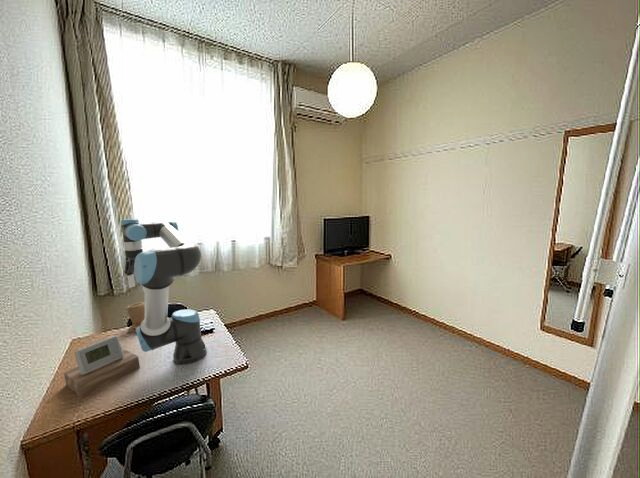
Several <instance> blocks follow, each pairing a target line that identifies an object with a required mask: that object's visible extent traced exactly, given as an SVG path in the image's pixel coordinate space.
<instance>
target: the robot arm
mask: <svg viewBox="0 0 640 478" xmlns="http://www.w3.org/2000/svg"><path fill="white" fill-rule="evenodd" d="M120 228H121V235H122V240H123V243H122V244H123V248H124V253H125V254H124V255H125V265H124V274H125V275H126V276H127V282H128V287H129V288H130V289H131V288H134V287H136V282H137V284H139V285H140V286H141V287H142V292H144V303H145V319H144V320H143V321H142V323H141V326H139V327H137V328H136V332H135V333H136V335H137V338H138V339H137V340H138V341H139V345H140V349H141V351H142V352H144V353H147V352H150V351H154V350H156V349H159V348H162V347H165V346H168V345H171V344H173V343H175V346H174V351H173V354H172V355H173V357H172V358H173V362H174V363H176V364H178V365H187V364H192V363H195V362H198V361H200V360H201V359H203V358H204V357H205V356H206V354H207V346H206V344H205V342H204V340H203V339H202V332H201V331H202V330H201V318H200V314H199V312H198V311H197V310H194V309H188V308H187V309H179V310H175V311H174V312H173V313H172V315H171V317H168V313H169V312H168V310H169V309H168V308H169V297H170V295H169V294H170V293H169V292H170V287H171V285H172V284H173V283H174V281H175V278H177V277H181V276H185V275H188V274H190V273H192V272H193V271H195V270H196V269H197V267H198V266H199V264H200V262H201V259H202V252H201V249H200V248H199V246H198V245H197V244H196V243H195V242H193V241H190V240H188V239H187V238H186V237H185V236H183V235H182V234H181V233H180V232H179V226H178V224H177V222H176V221H174V220H171V221H170V220H166V221H158V222H146V223H140V222H139V219H138V218H124V219H121V220H120ZM156 238H161V239H162V241H163V242H165V243H166V245H167V246H168V247H167V248H162V249H161V248H160V249H155V250H152V249H151V250H147V251H144V250H143V249H142V248H143V241H142V240H149V239H156ZM135 280H136V282H135Z"/></svg>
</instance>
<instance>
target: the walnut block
mask: <svg viewBox="0 0 640 478" xmlns="http://www.w3.org/2000/svg"><path fill="white" fill-rule="evenodd" d="M122 350H123V354H124V357H123V358H121V359H119V360H117V361H116V362H114V363H111V364H109V365H107V366H105V367H103V368H100V369H98V370H96V371H94V372H90V373H88V374H85V375H81V373H80V370H79V367H78V366H76V367H73V368H72V369H69V370H67V371H64V372H63V376H64V381H65V384H66V385H65V386H67V388H69V389H71V391H73V392H74V393H75V394H77V395H78V396H79V397H80V398H82V399H84V398H86V397H87V396H90V395H92V394H93V393H95V392H98V391H99V390H101V389H103V388H105V387H107V386H108V385H111V384H112V383H115V382H116V381H118V380H120V379H122V378H124V377H126V376H128V375H129V374H131V373H133V372H135V371H137V370H139V369H140V368H141V366H140V360H139V356H138V355H136V354H134V353H133V352H131V351H128V350H126V349H125V348H123V347H122Z"/></svg>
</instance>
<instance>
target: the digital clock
mask: <svg viewBox="0 0 640 478" xmlns="http://www.w3.org/2000/svg"><path fill="white" fill-rule="evenodd" d="M122 348H123V347H122V345H121V341H120V338H119V336H118V335H117V334H114V335H112V336H109V337H107V338H103V339H100V340H99V341H96V342H93V343H90V344H87V345H86V346H84V347H81V348H78V349H76V350H75V351H74V356H75V360H76V364H77V367H79V370H80V373H81V375H85V374H88V373H90V372H94V371H96V370H98V369H100V368H103V367H105V366H107V365H109V364H111V363H114V362H116V361H117V360H119V359H121V358H123V357H124V354H123V350H122Z"/></svg>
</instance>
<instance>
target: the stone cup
mask: <svg viewBox="0 0 640 478" xmlns="http://www.w3.org/2000/svg"><path fill="white" fill-rule="evenodd" d="M126 313H127V314H128V317H129V318H130V321H131V323H132V325H131V326H129V327H128V328H127V331H129V332H131V333H137V332H136V328H137V327H139V326H141V323H142V321H143V320H144V319H145V301H140V302H136V303H135V302H134V303H133V304H130V305H128V306H127V307H126Z"/></svg>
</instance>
